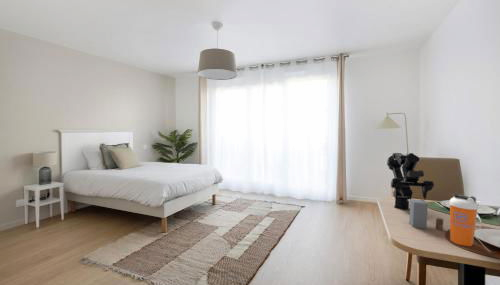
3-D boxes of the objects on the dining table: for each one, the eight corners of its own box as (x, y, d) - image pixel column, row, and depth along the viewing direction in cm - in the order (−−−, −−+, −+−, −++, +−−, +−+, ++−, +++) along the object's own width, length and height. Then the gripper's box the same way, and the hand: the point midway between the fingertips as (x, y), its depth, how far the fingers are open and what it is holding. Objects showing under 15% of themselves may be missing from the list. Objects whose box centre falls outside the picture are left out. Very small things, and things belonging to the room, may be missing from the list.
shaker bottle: (448, 235, 104) (451, 191, 103) (476, 242, 98) (479, 196, 97) (446, 242, 98) (448, 195, 97) (475, 250, 92) (478, 200, 91)
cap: (409, 222, 119) (410, 198, 118) (422, 224, 117) (423, 200, 117) (412, 226, 114) (413, 201, 113) (426, 228, 112) (427, 203, 111)
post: (435, 228, 112) (436, 218, 111) (436, 227, 113) (437, 217, 113) (442, 230, 110) (442, 220, 109) (443, 229, 111) (443, 219, 111)
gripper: (392, 163, 128) (397, 187, 118) (433, 165, 122) (441, 191, 112) (389, 175, 136) (392, 199, 126) (427, 177, 130) (434, 202, 120)
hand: (414, 197), depth 121 cm, fingers open, 9 cm apart
